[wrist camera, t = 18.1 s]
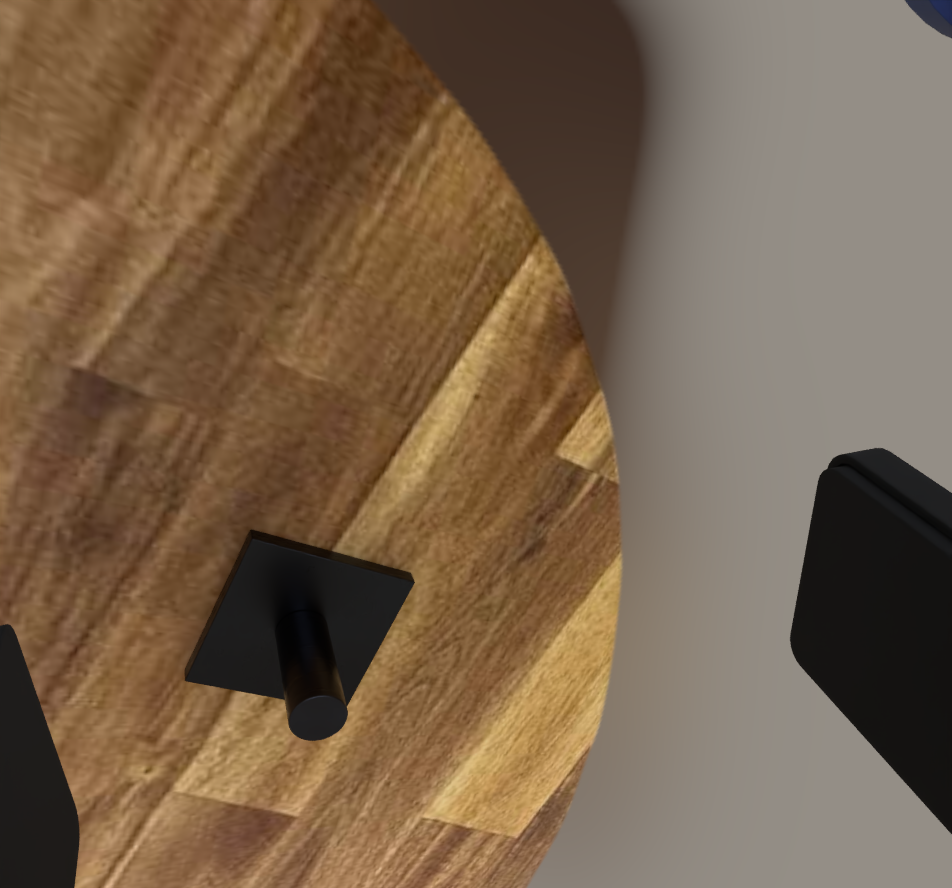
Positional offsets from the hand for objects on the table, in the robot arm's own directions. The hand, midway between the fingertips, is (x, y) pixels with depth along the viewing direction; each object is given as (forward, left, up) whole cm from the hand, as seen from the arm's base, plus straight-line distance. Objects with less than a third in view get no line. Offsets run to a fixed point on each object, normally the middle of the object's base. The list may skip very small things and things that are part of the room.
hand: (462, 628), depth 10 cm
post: (+18, +9, -26) cm, 33 cm away
